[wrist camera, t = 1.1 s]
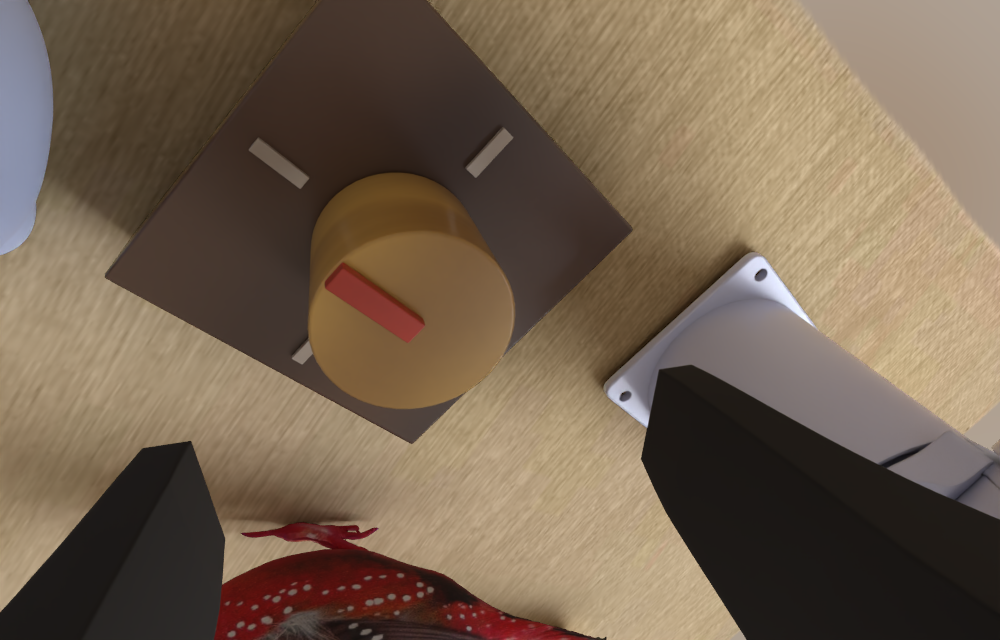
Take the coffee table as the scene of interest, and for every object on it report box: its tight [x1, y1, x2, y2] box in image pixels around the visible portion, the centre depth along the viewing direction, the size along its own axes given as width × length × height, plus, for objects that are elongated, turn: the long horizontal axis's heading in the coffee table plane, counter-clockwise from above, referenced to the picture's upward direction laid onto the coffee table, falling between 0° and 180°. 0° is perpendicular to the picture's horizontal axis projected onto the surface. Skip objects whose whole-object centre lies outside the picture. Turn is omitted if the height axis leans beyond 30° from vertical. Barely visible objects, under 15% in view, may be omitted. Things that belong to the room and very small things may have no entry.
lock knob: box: [308, 173, 515, 409], centre depth 14 cm, size 4×4×4 cm
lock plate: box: [105, 0, 633, 444], centre depth 16 cm, size 10×10×3 cm
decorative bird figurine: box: [214, 522, 599, 640], centre depth 20 cm, size 3×18×10 cm, turn 74°
